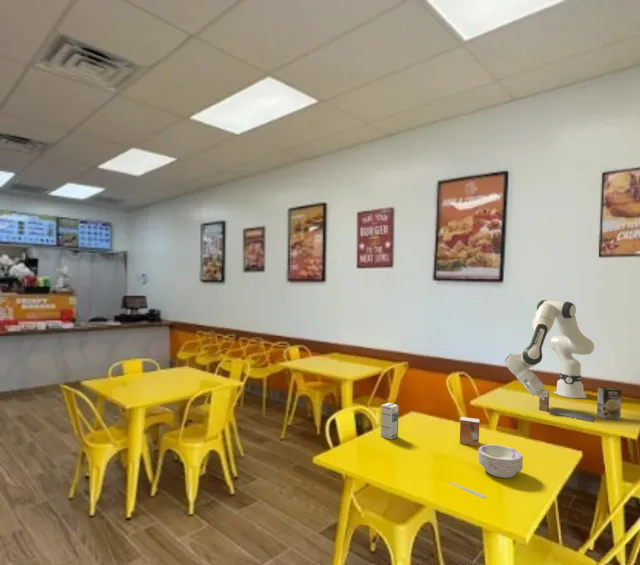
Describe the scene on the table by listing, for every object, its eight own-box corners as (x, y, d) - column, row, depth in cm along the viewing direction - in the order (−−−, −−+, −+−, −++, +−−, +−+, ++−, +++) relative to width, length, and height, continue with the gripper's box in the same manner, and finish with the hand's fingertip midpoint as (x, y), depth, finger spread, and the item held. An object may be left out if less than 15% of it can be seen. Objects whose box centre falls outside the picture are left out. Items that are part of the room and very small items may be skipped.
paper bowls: (473, 462, 165) (473, 442, 165) (513, 465, 163) (514, 445, 163) (484, 480, 149) (485, 458, 149) (529, 483, 148) (529, 461, 148)
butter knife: (482, 499, 136) (487, 495, 137) (414, 470, 156) (419, 467, 158) (482, 500, 136) (487, 497, 137) (414, 471, 156) (419, 469, 158)
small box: (459, 443, 184) (460, 419, 184) (460, 439, 189) (460, 416, 189) (478, 446, 181) (479, 422, 181) (478, 442, 186) (479, 418, 186)
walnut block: (541, 408, 244) (541, 389, 244) (548, 409, 242) (549, 390, 242) (539, 409, 240) (539, 390, 241) (546, 411, 238) (547, 392, 238)
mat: (553, 409, 243) (553, 408, 243) (594, 416, 231) (594, 415, 231) (549, 413, 234) (549, 412, 234) (592, 421, 221) (592, 420, 221)
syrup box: (391, 439, 186) (392, 407, 186) (380, 436, 190) (381, 404, 190) (398, 436, 190) (399, 404, 190) (387, 433, 194) (388, 402, 194)
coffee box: (603, 418, 227) (603, 389, 227) (596, 415, 234) (597, 386, 234) (621, 420, 226) (621, 390, 227) (614, 416, 233) (614, 387, 233)
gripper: (527, 378, 237) (546, 398, 231) (535, 372, 253) (553, 392, 247) (518, 384, 240) (537, 405, 234) (527, 379, 256) (544, 398, 250)
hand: (545, 398), depth 241 cm, fingers closed on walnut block, 5 cm apart
